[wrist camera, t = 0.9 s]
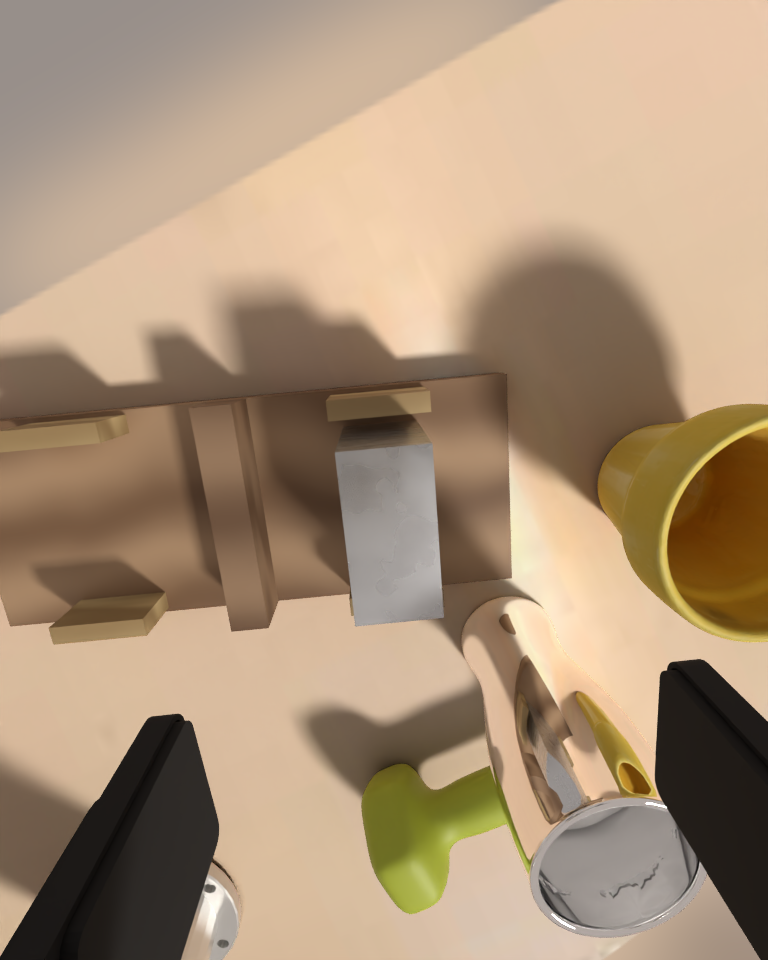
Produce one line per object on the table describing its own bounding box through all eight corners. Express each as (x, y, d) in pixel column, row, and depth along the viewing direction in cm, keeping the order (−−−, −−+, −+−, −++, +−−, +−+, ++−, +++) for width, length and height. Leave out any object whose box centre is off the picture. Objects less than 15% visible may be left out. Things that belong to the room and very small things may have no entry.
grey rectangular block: (426, 555, 29) (443, 617, 22) (358, 561, 29) (355, 626, 22) (416, 419, 27) (432, 443, 20) (343, 426, 27) (334, 452, 20)
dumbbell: (570, 660, 33) (624, 743, 26) (609, 747, 35) (669, 847, 28) (351, 753, 34) (347, 856, 27) (400, 832, 36) (407, 947, 29)
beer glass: (443, 604, 31) (507, 821, 17) (550, 577, 31) (708, 774, 17) (466, 693, 33) (542, 960, 19) (567, 669, 33) (724, 919, 18)
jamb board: (505, 567, 31) (527, 602, 27) (27, 613, 31) (-30, 656, 26) (499, 372, 28) (523, 376, 23) (-32, 422, 28) (-107, 436, 23)
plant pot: (683, 352, 28) (845, 353, 18) (765, 489, 30) (947, 553, 21) (532, 463, 29) (611, 517, 20) (621, 586, 31) (730, 688, 22)
